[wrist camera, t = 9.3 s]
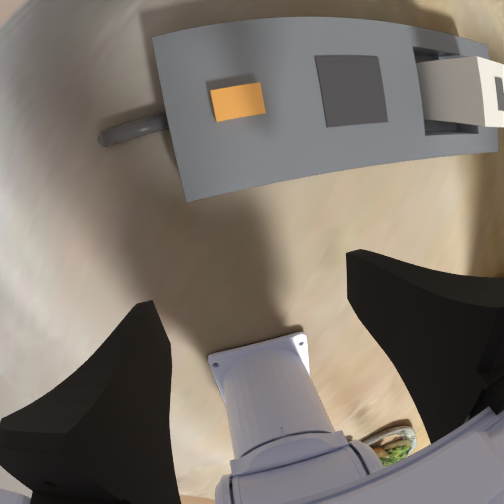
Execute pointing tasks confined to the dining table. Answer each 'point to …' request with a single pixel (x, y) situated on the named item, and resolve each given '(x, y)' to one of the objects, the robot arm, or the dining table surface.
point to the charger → (463, 91)
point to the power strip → (299, 100)
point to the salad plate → (393, 444)
